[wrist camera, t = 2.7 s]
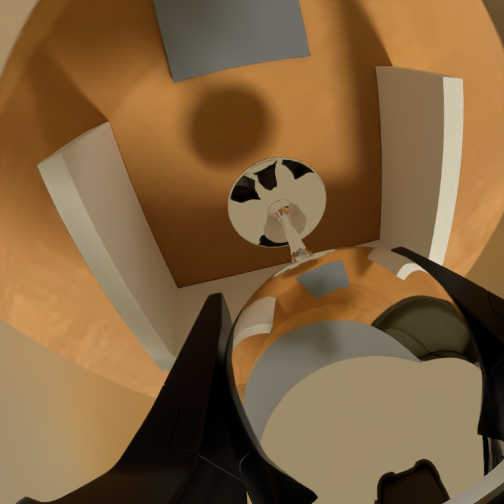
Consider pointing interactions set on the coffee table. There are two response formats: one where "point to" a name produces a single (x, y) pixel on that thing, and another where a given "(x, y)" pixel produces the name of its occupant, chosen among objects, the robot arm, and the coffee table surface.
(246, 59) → the felt mat
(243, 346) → the wineglass
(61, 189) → the corner wall
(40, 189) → the coffee table surface
